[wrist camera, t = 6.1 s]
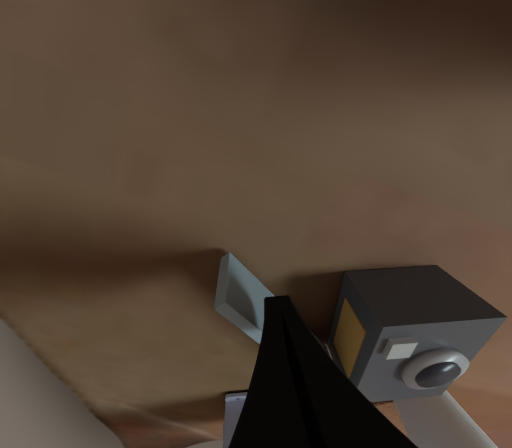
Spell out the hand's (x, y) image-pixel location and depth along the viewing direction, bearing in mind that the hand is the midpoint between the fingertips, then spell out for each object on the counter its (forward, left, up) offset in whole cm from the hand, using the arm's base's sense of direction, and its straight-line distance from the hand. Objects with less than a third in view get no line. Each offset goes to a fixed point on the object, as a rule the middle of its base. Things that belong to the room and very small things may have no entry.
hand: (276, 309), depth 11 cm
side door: (+1, -5, -4) cm, 7 cm away
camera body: (+10, -7, -5) cm, 13 cm away
